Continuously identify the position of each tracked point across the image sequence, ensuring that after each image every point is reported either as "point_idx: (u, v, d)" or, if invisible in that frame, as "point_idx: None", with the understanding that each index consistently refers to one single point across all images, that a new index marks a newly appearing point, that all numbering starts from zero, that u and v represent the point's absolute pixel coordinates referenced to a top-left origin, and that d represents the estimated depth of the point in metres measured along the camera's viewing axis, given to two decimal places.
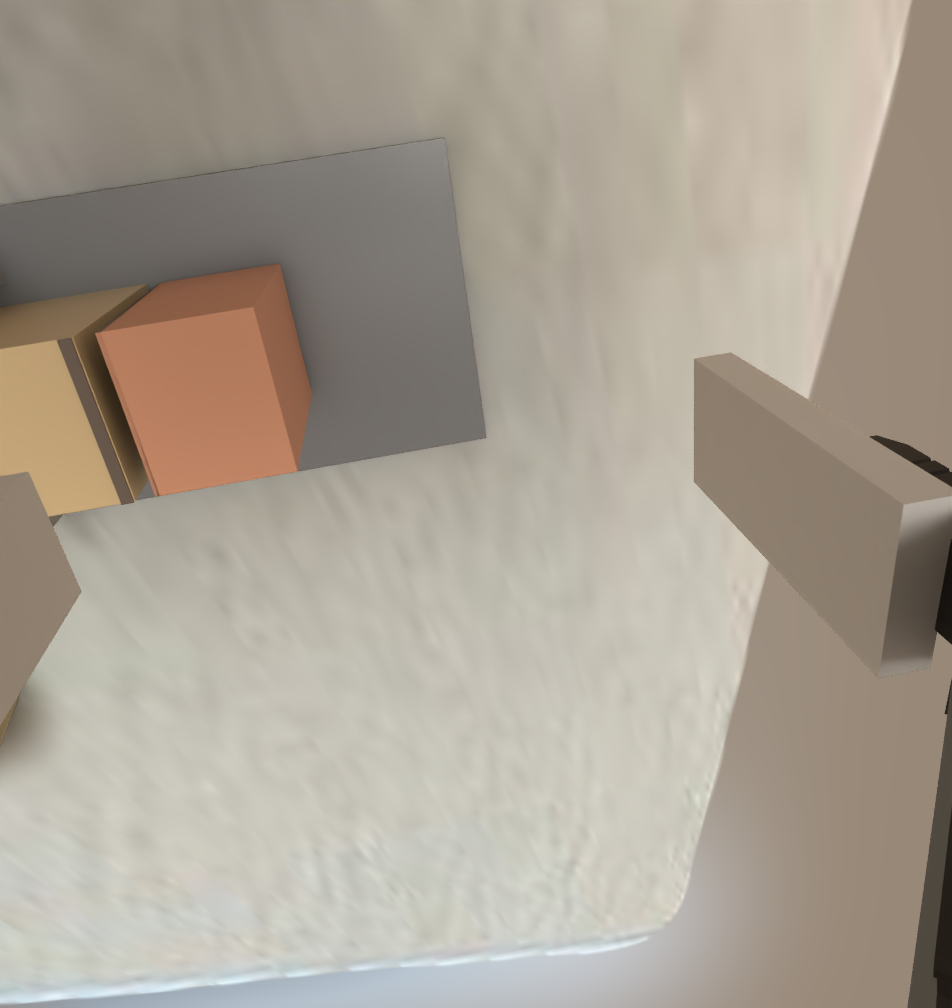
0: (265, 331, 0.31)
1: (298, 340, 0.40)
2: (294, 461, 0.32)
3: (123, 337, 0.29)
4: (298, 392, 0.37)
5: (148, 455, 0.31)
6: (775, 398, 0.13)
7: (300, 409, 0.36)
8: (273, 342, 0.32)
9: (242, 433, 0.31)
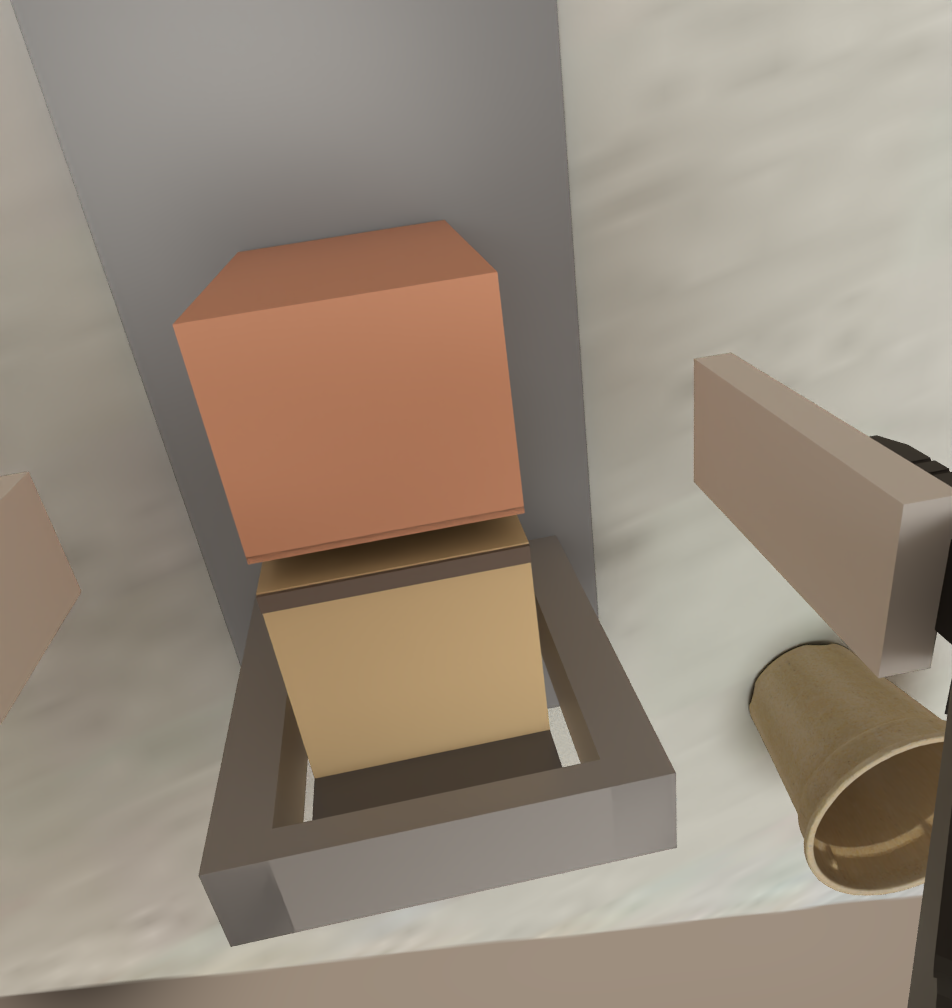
0: (239, 303, 0.17)
1: (355, 234, 0.26)
2: (476, 275, 0.17)
3: (251, 528, 0.18)
4: (406, 246, 0.22)
5: (451, 515, 0.19)
6: (775, 398, 0.13)
7: (429, 246, 0.21)
8: (277, 287, 0.18)
9: (415, 366, 0.17)
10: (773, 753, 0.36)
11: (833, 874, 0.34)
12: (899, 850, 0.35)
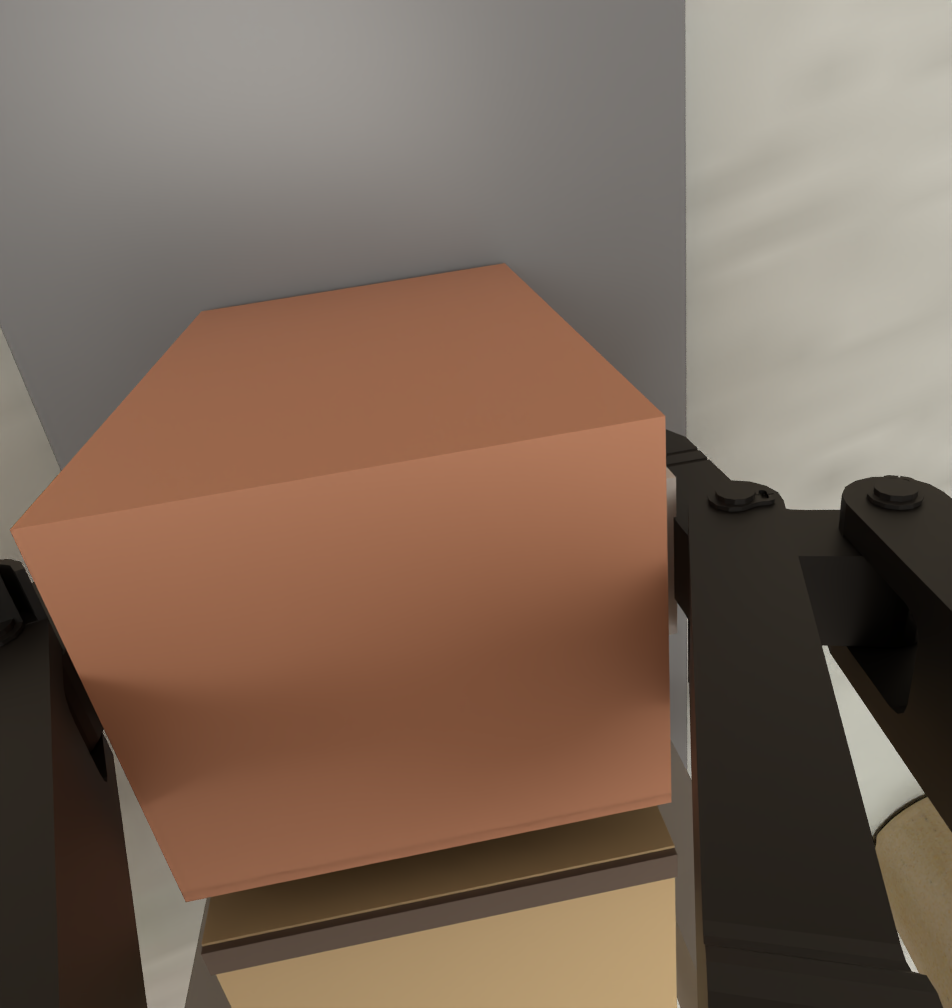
0: (159, 462, 0.09)
1: (374, 284, 0.17)
2: (624, 422, 0.08)
3: (189, 850, 0.10)
4: (458, 319, 0.13)
5: (545, 812, 0.11)
6: None
7: (499, 323, 0.13)
8: (238, 417, 0.10)
9: (495, 585, 0.09)
10: (909, 941, 0.28)
11: None
12: None
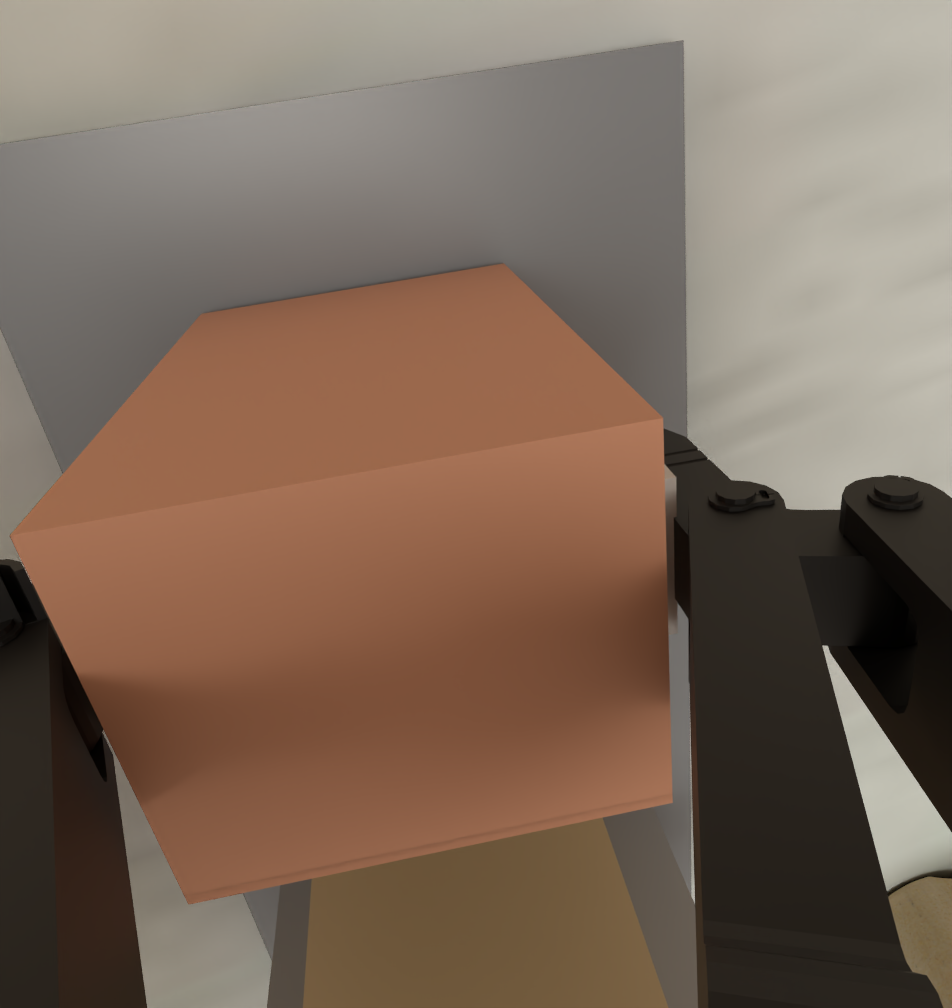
0: (158, 466, 0.09)
1: (374, 285, 0.17)
2: (622, 423, 0.08)
3: (191, 853, 0.10)
4: (457, 320, 0.13)
5: (546, 813, 0.11)
6: None
7: (497, 324, 0.13)
8: (237, 420, 0.10)
9: (494, 587, 0.09)
10: None
11: None
12: None
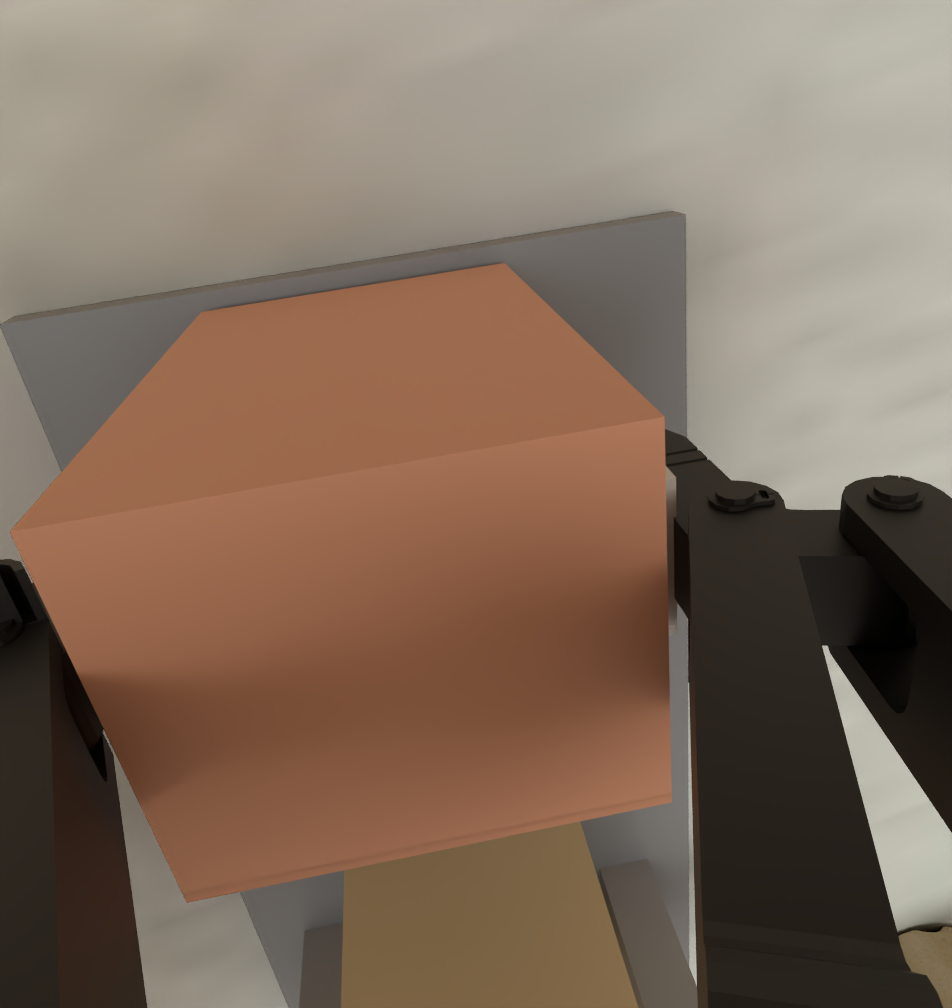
0: (159, 464, 0.09)
1: (374, 284, 0.17)
2: (623, 422, 0.08)
3: (190, 851, 0.10)
4: (457, 319, 0.13)
5: (545, 812, 0.11)
6: None
7: (498, 323, 0.13)
8: (237, 418, 0.10)
9: (495, 585, 0.09)
10: None
11: None
12: None
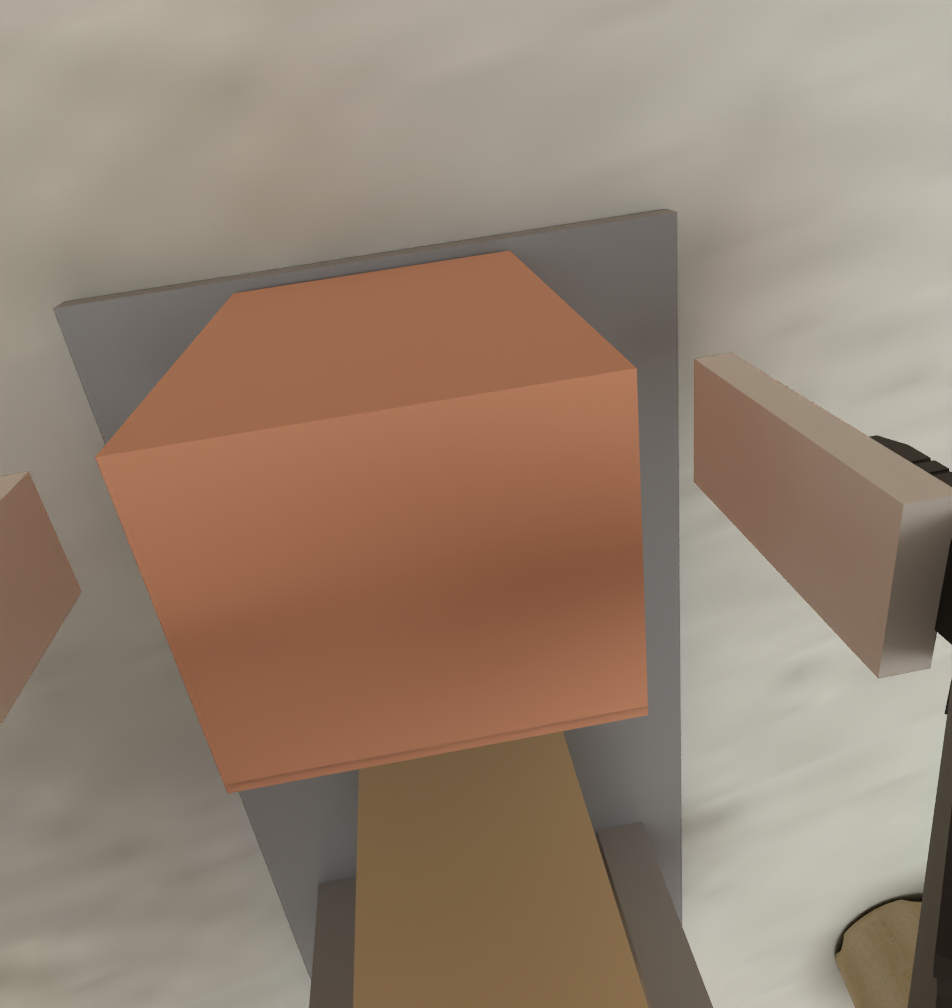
0: (212, 408, 0.11)
1: (390, 269, 0.19)
2: (602, 373, 0.10)
3: (231, 746, 0.12)
4: (465, 297, 0.15)
5: (537, 720, 0.12)
6: (775, 398, 0.13)
7: (501, 300, 0.14)
8: (276, 375, 0.12)
9: (494, 513, 0.11)
10: None
11: None
12: None
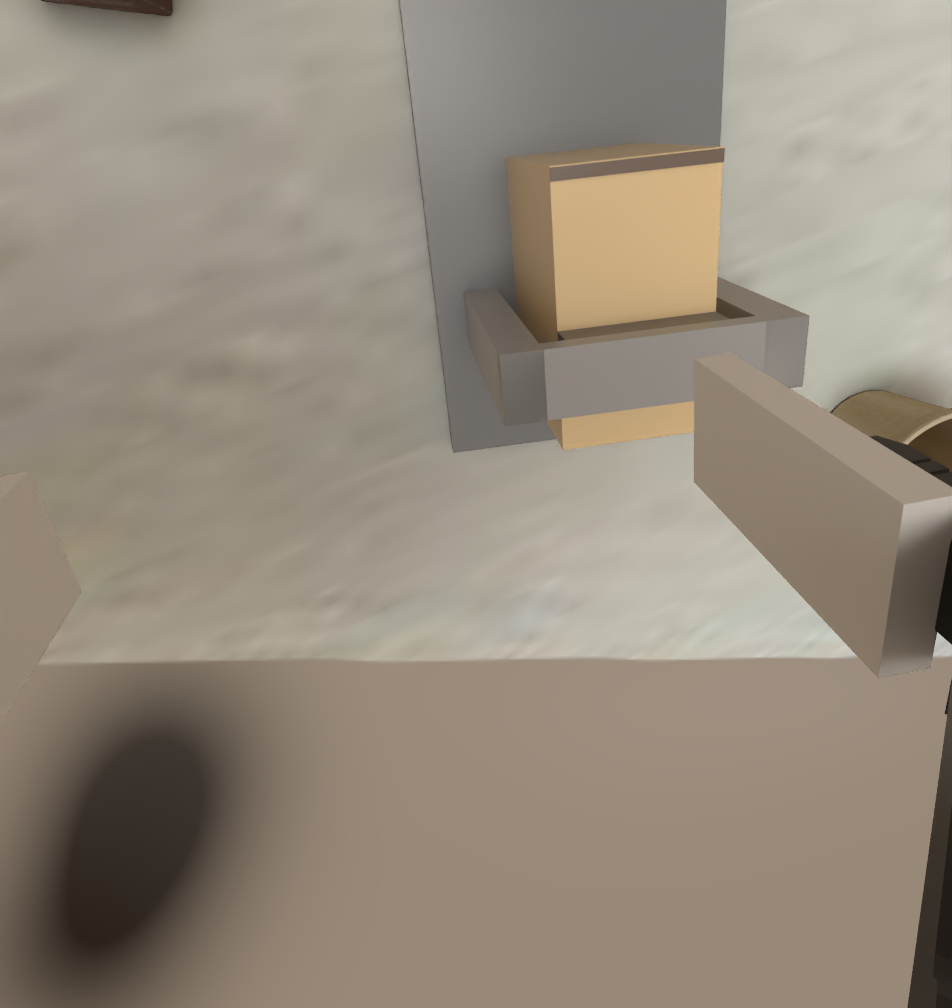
0: None
1: None
2: None
3: None
4: None
5: None
6: (775, 398, 0.13)
7: None
8: None
9: None
10: None
11: None
12: None
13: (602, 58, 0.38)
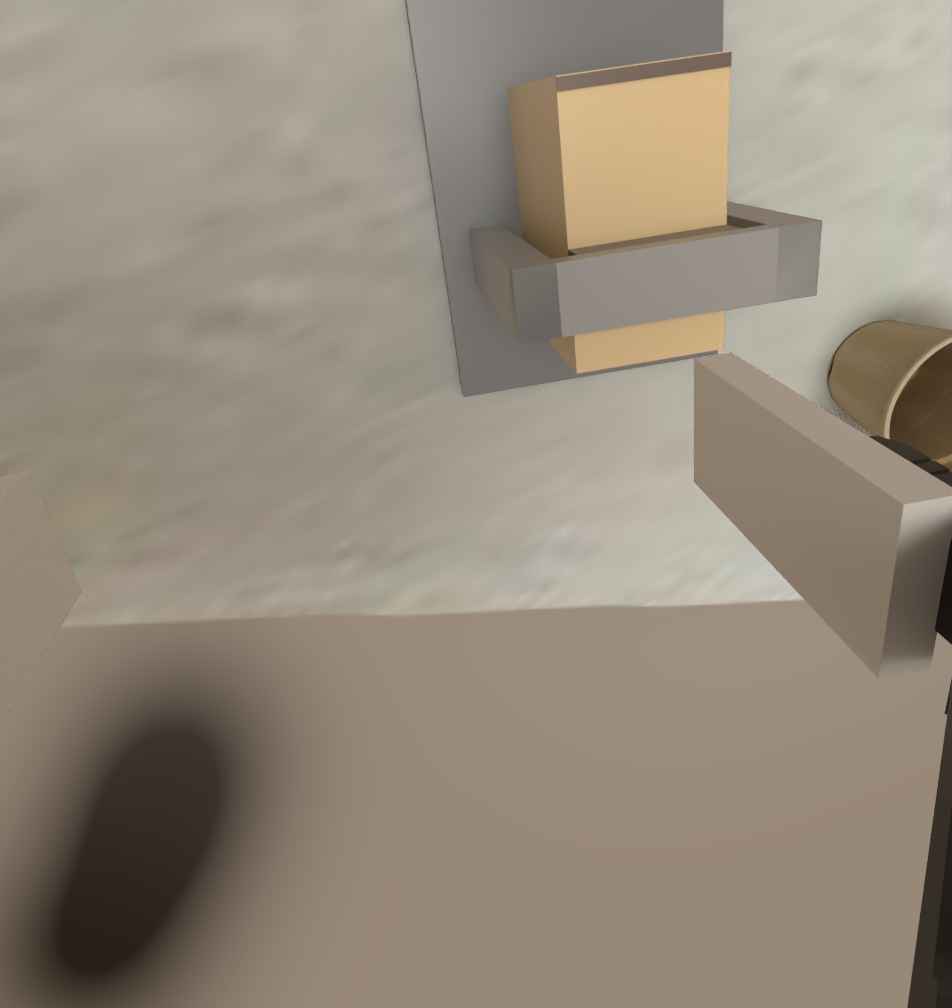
0: None
1: None
2: None
3: None
4: None
5: None
6: (775, 398, 0.13)
7: None
8: None
9: None
10: (852, 395, 0.46)
11: None
12: (951, 463, 0.45)
13: None
